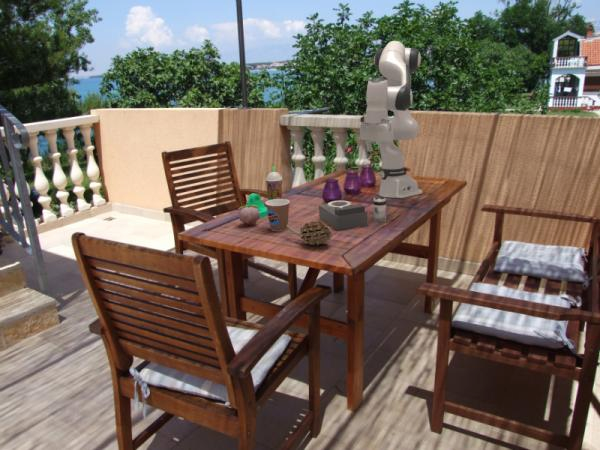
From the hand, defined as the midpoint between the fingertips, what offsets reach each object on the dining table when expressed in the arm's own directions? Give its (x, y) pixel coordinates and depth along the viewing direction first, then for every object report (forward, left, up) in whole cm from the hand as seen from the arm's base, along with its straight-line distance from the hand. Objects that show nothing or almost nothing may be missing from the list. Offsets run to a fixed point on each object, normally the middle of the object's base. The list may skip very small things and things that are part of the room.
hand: (375, 152), depth 218 cm
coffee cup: (+42, -9, -30) cm, 52 cm away
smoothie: (+32, -45, -30) cm, 63 cm away
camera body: (+14, -5, -30) cm, 33 cm away
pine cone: (+38, +14, -30) cm, 50 cm away
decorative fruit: (+52, -21, -30) cm, 63 cm away
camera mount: (+44, -33, -30) cm, 63 cm away
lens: (-1, +1, -30) cm, 30 cm away
